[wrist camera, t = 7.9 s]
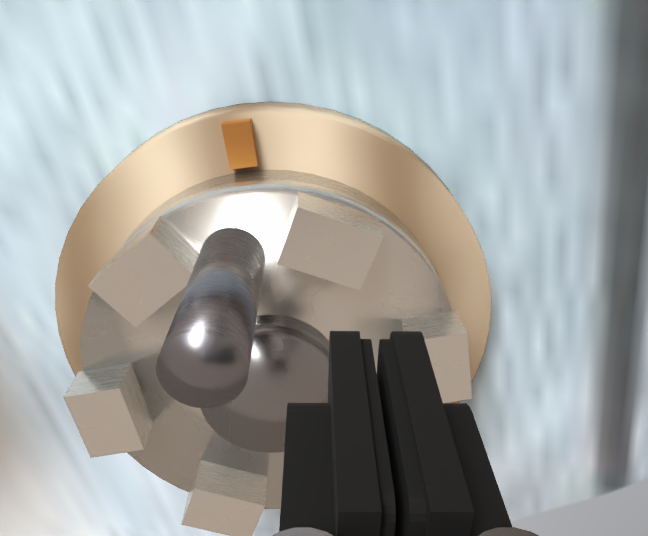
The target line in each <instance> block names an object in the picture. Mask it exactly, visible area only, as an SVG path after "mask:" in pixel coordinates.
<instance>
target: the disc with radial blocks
mask: <svg viewBox="0 0 648 536" xmlns="http://www.w3.org/2000/svg"><path fill="white" fill-rule="evenodd" d="M88 287H89V288H90V289H92V290H93V293H92V295H91V297H90V299H89V302H88V305H87V309H86V312H85V315H84V318H83V324H82V332H81V339H80V350H81V365H82V371H79V372H78V373H77V375H76V377H75V378H74V380H73V382H72V383H71V385H70V387H69V388H68V390H67V392H66V394H65V395H64V400H65V402H66V404H67V406H68V408H69V411H70V413H71V415H72V417H73V419H74V422H75V424H76V426H77V428H78V430H79V433H80V435H81V437H82V439H83V441H84V444H85V446H86V448H87V450H88V452H89V455H90V457H91V458H92V457H99V456H105V455H112V454H118V453H125V452H127V453H128V454H129V455H131V456H132V457H133V458H134V459H135V460H136V461H138V462H139V463H140V464H141V465H142V466H143V467H145V468H146V469H148V470H149V471H151V472H152V473H154V474H155V475H157V476H158V477H160V478H161V479H163V480H165V481H167V482H169V483H171V484H173V485H174V486H176V487H178V488H180V489H183V490H185V491H188V492H189V494H188V498H187V502H186V507H185V511H184V515H183V520H182V525H186V526H190V527H195V528H199V529H203V530H208V531H212V532H216V533H221V534H225V535H229V536H252V534H253V532H254V529H255V527H256V525H257V523H258V520H259V518H260V516H261V514H262V511H263V509H281V498H282V481H283V465H284V448H285V432H286V416H287V404H288V403H328V372H329V336H330V331H359V332H360V338H361V339H371V341H372V347H373V354H374V361H375V367H376V374H377V362H378V348H379V340H380V339H390V333H391V331H421V332H422V334H423V337H424V340H425V343H426V347H427V350H428V354H429V357H430V361H431V364H432V368H433V371H434V374H435V378H436V381H437V385H438V388H439V392H440V395H441V399H442V402H443V403H451V402H455V401H461V400H468V399H472V389H471V377H470V364H469V352H468V339H467V331H466V329H465V327H464V325H463V323H462V321H461V318H460V316H459V314H458V312H457V310H454V311H452V308H451V305H450V302H449V300H448V298H447V295H446V293H445V291H444V289H443V286H442V284H441V282H440V280H439V278H438V275H437V273H436V271H435V269H434V267H433V265H432V263H431V261H430V259H429V257H428V255H427V253H426V251H425V249H424V248H423V247H422V245H421V244H420V242H419V241H418V240H417V238H416V237H415V235H414V234H413V233H412V231H411V230H410V229H409V228H408V227H407V226H406V225H405V224H404V223H403V222H402V221H401V220H400V219H399V218H398V217H397V216H396V215H395V214H393V213H392V212H391V211H390V210H388V209H387V208H386V207H384V206H383V205H382V204H381V203H379V202H378V201H376V200H375V199H373V198H371V197H369V196H368V195H366V194H364V193H363V192H361V191H359V190H357V189H355V188H353V187H350V186H348V185H345V184H343V183H341V182H338V181H336V180H333V179H329V178H325V177H322V176H318V175H315V174H311V173H304V172H297V171H290V170H253V171H244V172H236V173H232V174H228V175H224V176H219V177H215V178H212V179H209V180H206V181H204V182H201V183H199V184H196V185H194V186H191V187H189V188H187V189H185V190H183V191H182V192H180V193H178V194H176V195H175V196H173V197H171V198H169V199H168V200H166V201H165V202H164V203H162V204H161V205H160V206H159V207H157V208H156V209H155V210H153V211H152V212H151V213H150V214H149V215H148V216H147V217H146V218H145V219H144V220H143V221H142V222H141V223H140V224H139V225H138V226H137V227H136V228H135V229H134V230H133V232H132V233H131V235H130V236H129V237H128V239H127V240H126V242H125V243H124V244H123V246H122V247H121V249H120V250H119V251H118V253H117V254H116V255H115V256H113V257H112V258H111V259H110V260H109V261H108V262H107V263H105V264H104V265H103V266H102V268H101V269H100V270H99V272H98V273H97V274H96V276H95V277H94V279H93V280H92V281H91V283H90V284H89V286H88Z"/></svg>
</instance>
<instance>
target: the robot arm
mask: <svg viewBox="0 0 648 536" xmlns="http://www.w3.org/2000/svg"><path fill="white" fill-rule="evenodd" d="M273 536H538V535H536V534H534V533H532V532H530V531H526V530H522V529H518V528H514V527H512V525H511V522H510V519H509V516H508V514H507V511H506V508H505V505H504V502H503V499H502V496H501V493H500V491H499V488H498V485H497V482H496V479H495V476H494V473H493V471H492V468H491V465H490V462H489V459H488V456H487V453H486V451H485V448H484V445H483V442H482V439H481V436H480V433H479V431H478V428H477V425H476V422H475V419H474V416H473V413H472V411H471V409H470V407H469V406H468V405H467V404H456V403H443V402H442V399H441V395H440V392H439V388H438V385H437V381H436V378H435V374H434V371H433V368H432V364H431V361H430V357H429V354H428V350H427V347H426V343H425V340H424V337H423V334H422V332H421V331H391V333H390V339H380V340H379V348H378V362H377V374H376V367H375V361H374V354H373V347H372V341H371V339H361V338H360V332H359V331H330V336H329V372H328V403H288V404H287V416H286V432H285V448H284V465H283V481H282V498H281V514H280V530H279V532H278V533H276V534H274V535H273Z"/></svg>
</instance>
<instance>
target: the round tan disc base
mask: <svg viewBox="0 0 648 536" xmlns="http://www.w3.org/2000/svg"><path fill="white" fill-rule="evenodd" d="M253 170H290V171H297V172H304V173H311V174H315V175H318V176H322V177H325V178H329V179H333V180H336V181H338V182H341V183H343V184H345V185H348V186H350V187H353V188H355V189H357V190H359V191H361V192H363V193H364V194H366V195H368V196H369V197H371V198H373V199H375V200H376V201H378V202H379V203H381V204H382V205H383V206H384V207H386V208H387V209H388V210H390V211H391V212H392V213H393V214H395V215H396V216H397V217H398V218H399V219H400V220H401V221H402V222H403V223H404V224H405V225H406V226H407V227H408V228H409V229H410V230H411V231H412V233H413V234H414V235H415V237H416V238H417V240H418V241H419V242H420V244H421V245H422V247H423V248H424V249H425V251H426V253H427V255H428V257H429V259H430V261H431V263H432V265H433V267H434V269H435V271H436V273H437V275H438V278H439V280H440V282H441V284H442V286H443V289H444V291H445V293H446V295H447V298H448V300H449V302H450V305H451V308H452V311H454V310H457V312H458V314H459V316H460V318H461V321H462V323H463V325H464V327H465V329H466V331H467V339H468V352H469V364H470V377H471V382H472V380H473V378H474V376H475V374H476V372H477V370H478V367H479V364H480V362H481V359H482V356H483V354H484V351H485V347H486V342H487V338H488V333H489V328H490V316H491V293H490V282H489V275H488V271H487V267H486V263H485V259H484V255H483V251H482V249H481V247H480V244H479V242H478V239H477V237H476V234H475V232H474V230H473V228H472V226H471V224H470V223H469V221H468V219H467V218H466V216H465V214H464V213H463V211H462V209H461V208H460V206H459V204H458V203H457V201H456V200H455V198H454V197H453V196H452V194H451V193H450V191H449V190H448V188H447V187H446V186H445V185H444V183H443V182H442V181H441V180H440V179H439V177H438V176H437V175H436V174H435V172H434V171H433V170H432V169H431V168H430V167H429V166H428V165H427V164H426V163H425V162H424V161H423V160H422V159H421V158H420V157H418V156H417V155H416V154H415V153H414V152H413V151H412V150H411V149H410V148H408V147H407V146H405V145H404V144H402V143H401V142H399V141H398V140H396V139H395V138H394V137H392V136H391V135H389V134H388V133H386V132H384V131H382V130H380V129H378V128H376V127H374V126H372V125H370V124H368V123H366V122H364V121H362V120H360V119H358V118H355V117H352V116H349V115H346V114H343V113H340V112H337V111H334V110H331V109H326V108H321V107H316V106H311V105H306V104H301V103H285V102H258V103H244V104H236V105H232V106H227V107H222V108H217V109H213V110H209V111H206V112H203V113H200V114H198V115H195V116H192V117H189V118H187V119H184V120H181V121H179V122H177V123H176V124H174V125H172V126H170V127H168V128H166V129H164V130H162V131H160V132H159V133H157V134H155V135H154V136H152V137H151V138H150V139H148V140H147V141H145V142H144V143H143V144H141V145H140V146H139V147H137V148H136V149H135V150H133V151H132V152H131V153H130V154H129V155H128V156H127V157H126V158H125V159H124V160H123V161H122V162H121V163H120V164H119V165H118V166H117V167H116V168H115V169H114V170H113V171H112V172H110V173H109V174H108V175H107V176H106V177H105V178H104V179H103V180H102V181H101V182H100V183H99V184H98V185H97V187H96V188H95V189H94V191H93V192H92V193H91V195H90V196H89V198H88V199H87V200H86V202H85V203H84V204H83V206H82V207H81V208H80V210H79V212H78V214H77V216H76V218H75V220H74V222H73V224H72V226H71V228H70V229H69V231H68V234H67V237H66V240H65V243H64V246H63V249H62V252H61V255H60V258H59V264H58V270H57V277H56V283H55V310H56V317H57V323H58V330H59V335H60V338H61V341H62V345H63V348H64V351H65V355H66V358H67V360H68V362H69V364H70V366H71V368H72V370H73V373H74V375H75V377H76V375H77V373H78V372H79V371H82V365H81V350H80V339H81V332H82V324H83V318H84V315H85V312H86V309H87V305H88V302H89V299H90V297H91V295H92V293H93V290H92V289H90V288H89V287H88V286H89V284H90V283H91V281H92V280H93V279H94V277H95V276H96V274H97V273H98V272H99V270H100V269H101V268H102V266H103V265H104V264H105V263H107V262H108V261H109V260H110V259H111V258H112V257H113V256H115V255H116V254H117V253H118V251H119V250H120V249H121V247H122V246H123V244H124V243H125V242H126V240H127V239H128V237H129V236H130V235H131V233H132V232H133V230H134V229H135V228H136V227H137V226H138V225H139V224H140V223H141V222H142V221H143V220H144V219H145V218H146V217H147V216H148V215H149V214H150V213H151V212H152V211H153V210H155V209H156V208H157V207H159V206H160V205H161V204H162V203H164V202H165V201H166V200H168V199H169V198H171V197H173V196H175V195H176V194H178V193H180V192H182V191H183V190H185V189H187V188H189V187H191V186H194V185H196V184H199V183H201V182H204V181H206V180H209V179H212V178H215V177H219V176H224V175H228V174H232V173H236V172H244V171H253ZM451 403H456V404H458V403H459V401H455V402H451Z"/></svg>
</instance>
